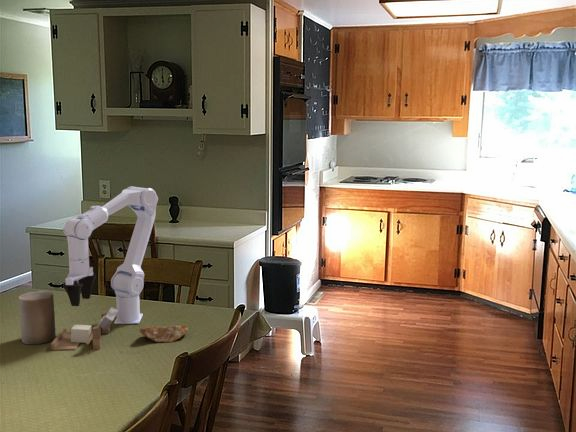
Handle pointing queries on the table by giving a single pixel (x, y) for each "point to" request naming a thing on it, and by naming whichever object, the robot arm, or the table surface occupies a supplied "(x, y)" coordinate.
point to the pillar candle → (37, 317)
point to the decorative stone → (164, 333)
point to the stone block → (80, 333)
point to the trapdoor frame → (65, 342)
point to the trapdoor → (105, 321)
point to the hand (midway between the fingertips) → (80, 302)
